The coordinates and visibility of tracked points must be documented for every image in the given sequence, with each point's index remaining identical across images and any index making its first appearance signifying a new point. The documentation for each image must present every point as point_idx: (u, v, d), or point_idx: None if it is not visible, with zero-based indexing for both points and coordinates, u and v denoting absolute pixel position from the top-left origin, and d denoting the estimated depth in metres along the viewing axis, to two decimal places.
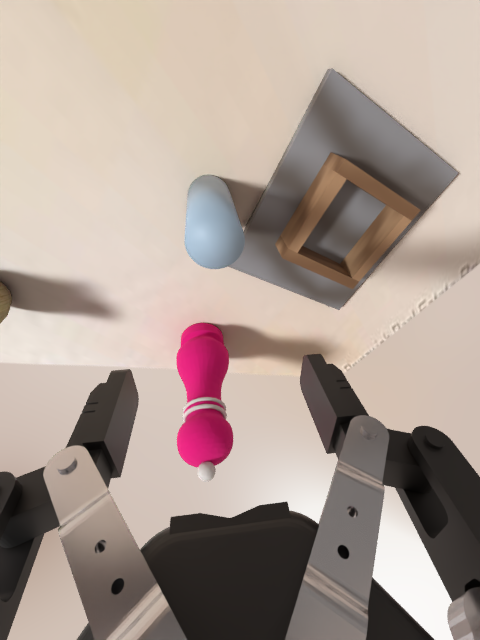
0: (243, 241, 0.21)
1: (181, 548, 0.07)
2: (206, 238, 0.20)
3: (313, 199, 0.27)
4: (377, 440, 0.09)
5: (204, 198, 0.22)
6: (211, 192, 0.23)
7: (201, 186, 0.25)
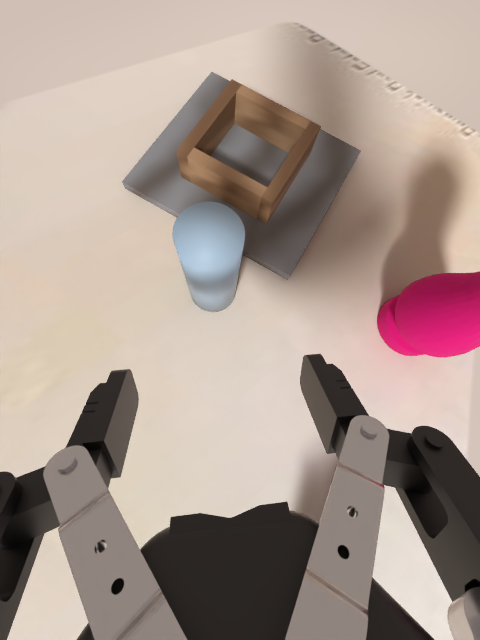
0: (212, 203, 0.18)
1: (181, 548, 0.07)
2: (202, 241, 0.17)
3: (214, 179, 0.27)
4: (377, 440, 0.09)
5: None
6: None
7: None
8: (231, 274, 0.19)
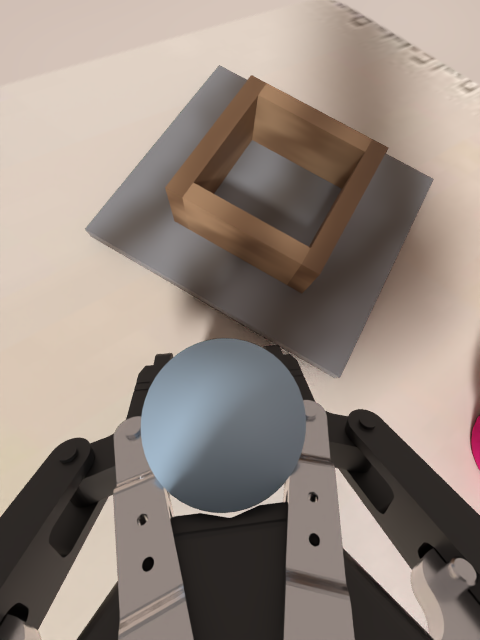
0: (231, 341, 0.08)
1: (181, 548, 0.07)
2: (209, 443, 0.07)
3: (224, 231, 0.17)
4: (314, 422, 0.09)
5: None
6: None
7: None
8: None
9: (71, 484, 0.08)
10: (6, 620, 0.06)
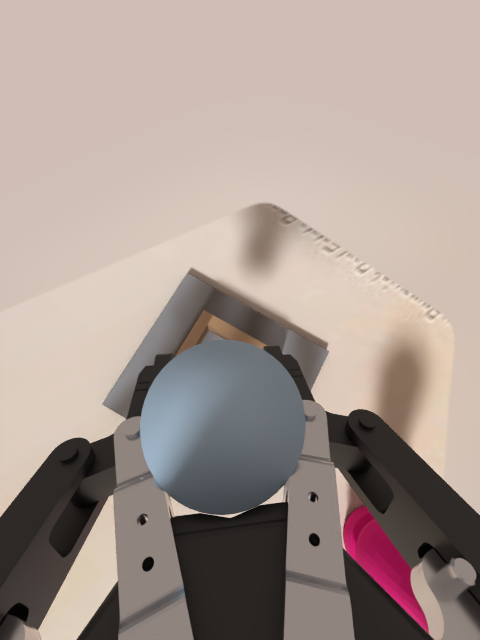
0: (230, 343, 0.08)
1: (181, 548, 0.07)
2: (209, 444, 0.07)
3: None
4: (314, 422, 0.09)
5: None
6: None
7: None
8: None
9: (72, 484, 0.08)
10: (6, 620, 0.06)
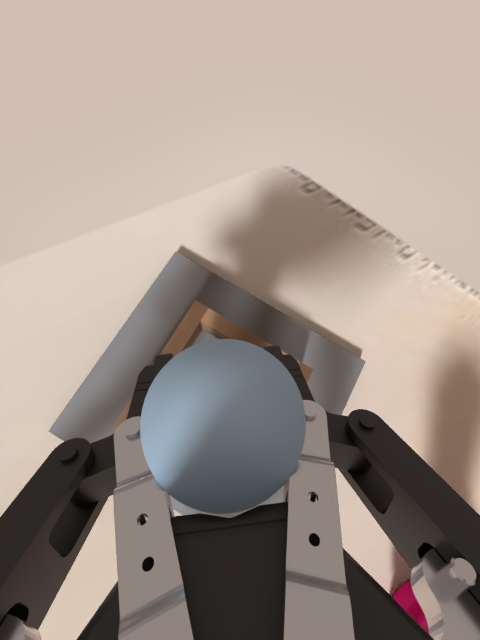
0: (230, 342, 0.08)
1: (181, 548, 0.07)
2: (209, 444, 0.07)
3: None
4: (314, 422, 0.09)
5: None
6: None
7: None
8: None
9: (71, 484, 0.08)
10: (6, 620, 0.06)
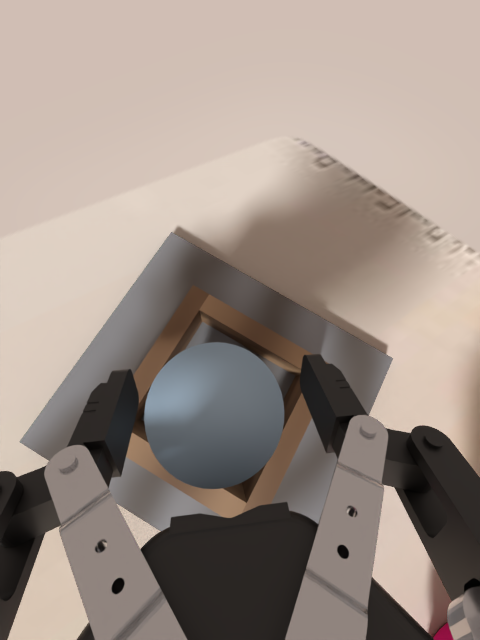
0: (221, 345, 0.09)
1: (181, 548, 0.07)
2: (202, 430, 0.09)
3: None
4: (376, 440, 0.09)
5: None
6: None
7: None
8: None
9: (0, 520, 0.07)
10: None
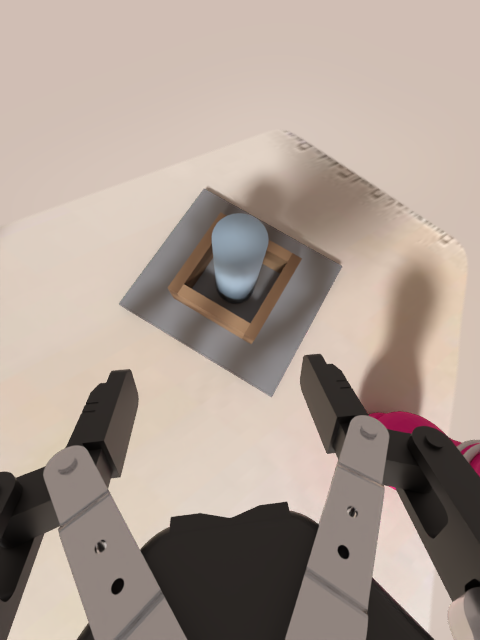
0: (242, 214, 0.22)
1: (181, 548, 0.07)
2: (234, 245, 0.22)
3: (202, 310, 0.29)
4: (377, 440, 0.09)
5: None
6: None
7: (215, 277, 0.29)
8: (255, 271, 0.24)
9: (0, 520, 0.07)
10: None
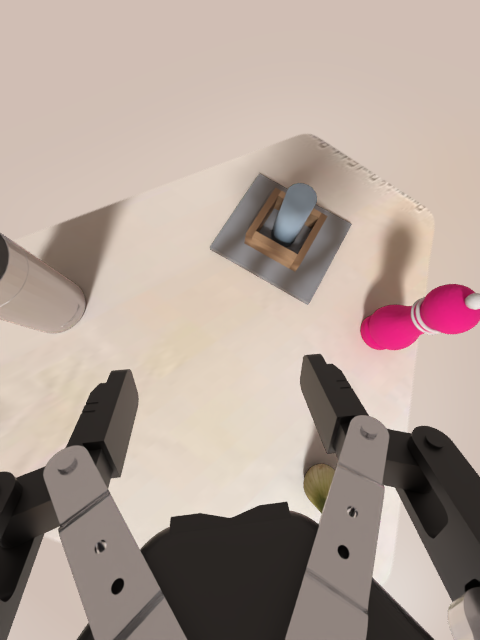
0: (302, 183, 0.40)
1: (181, 548, 0.07)
2: (298, 200, 0.39)
3: (266, 248, 0.47)
4: (377, 440, 0.09)
5: (280, 212, 0.43)
6: (278, 213, 0.44)
7: (275, 226, 0.46)
8: (306, 218, 0.42)
9: (0, 520, 0.07)
10: None
